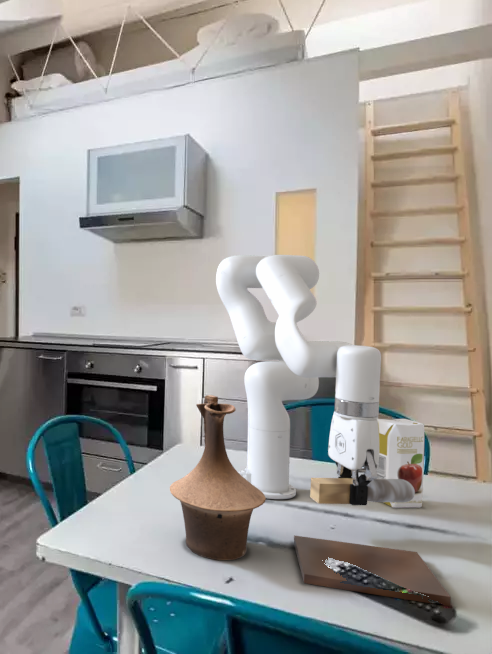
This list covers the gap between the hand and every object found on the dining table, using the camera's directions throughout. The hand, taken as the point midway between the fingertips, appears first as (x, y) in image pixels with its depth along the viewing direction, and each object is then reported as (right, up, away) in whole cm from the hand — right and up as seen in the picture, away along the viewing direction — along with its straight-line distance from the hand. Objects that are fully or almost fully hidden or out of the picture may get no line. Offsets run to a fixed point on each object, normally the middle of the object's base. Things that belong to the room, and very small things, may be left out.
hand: (351, 499), depth 107 cm
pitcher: (-29, -7, -6) cm, 31 cm away
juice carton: (+21, -7, +18) cm, 28 cm away
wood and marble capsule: (+2, 0, 0) cm, 3 cm away
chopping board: (-7, -7, -15) cm, 18 cm away
